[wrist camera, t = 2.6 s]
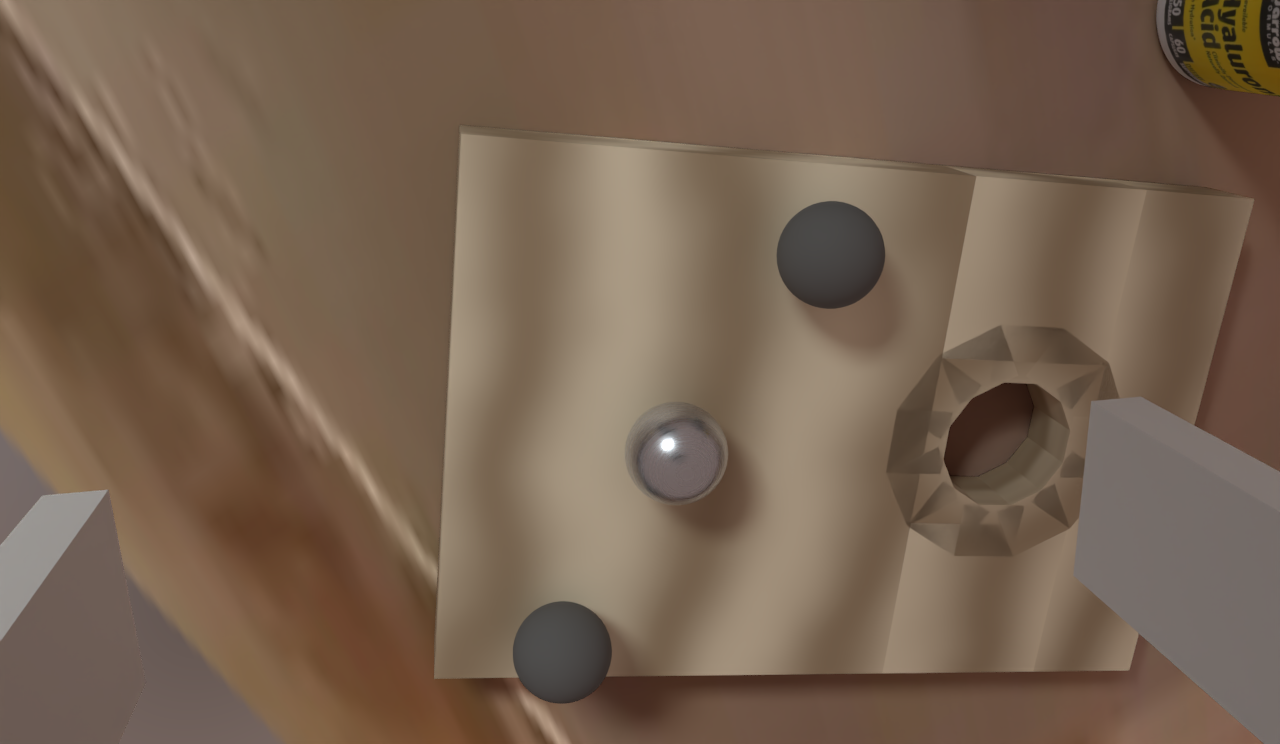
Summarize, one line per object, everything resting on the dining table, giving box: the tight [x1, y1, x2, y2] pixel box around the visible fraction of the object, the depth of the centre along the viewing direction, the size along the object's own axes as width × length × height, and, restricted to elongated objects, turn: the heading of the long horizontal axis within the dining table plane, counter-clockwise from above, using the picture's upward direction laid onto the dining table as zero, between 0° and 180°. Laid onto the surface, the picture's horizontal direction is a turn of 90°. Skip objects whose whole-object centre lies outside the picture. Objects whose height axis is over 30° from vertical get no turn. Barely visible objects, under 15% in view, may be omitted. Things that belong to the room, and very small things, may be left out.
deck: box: [434, 125, 1254, 679], centre depth 38 cm, size 26×18×2 cm
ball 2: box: [777, 201, 885, 309], centre depth 33 cm, size 3×3×3 cm
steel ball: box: [625, 402, 728, 505], centre depth 34 cm, size 3×3×3 cm
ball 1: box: [513, 601, 612, 703], centre depth 36 cm, size 3×3×3 cm
